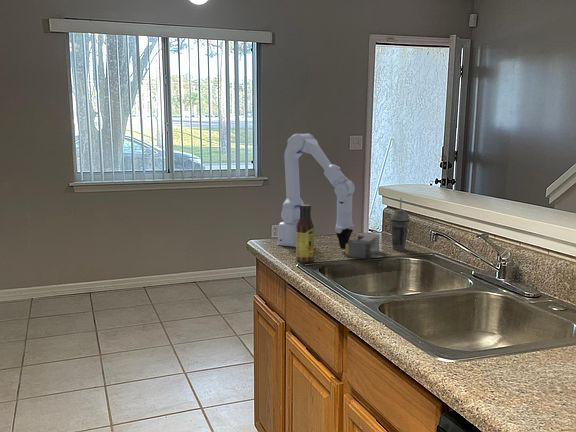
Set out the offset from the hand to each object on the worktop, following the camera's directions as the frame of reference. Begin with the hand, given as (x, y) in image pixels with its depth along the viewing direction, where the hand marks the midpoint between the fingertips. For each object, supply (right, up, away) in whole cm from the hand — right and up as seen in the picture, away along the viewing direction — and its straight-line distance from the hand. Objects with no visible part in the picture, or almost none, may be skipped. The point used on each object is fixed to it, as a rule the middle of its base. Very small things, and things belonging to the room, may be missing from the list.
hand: (343, 248), depth 211 cm
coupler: (+7, -2, -3) cm, 8 cm away
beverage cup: (+22, -1, +5) cm, 22 cm away
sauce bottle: (-15, -4, -14) cm, 21 cm away
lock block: (+4, -2, -1) cm, 4 cm away
